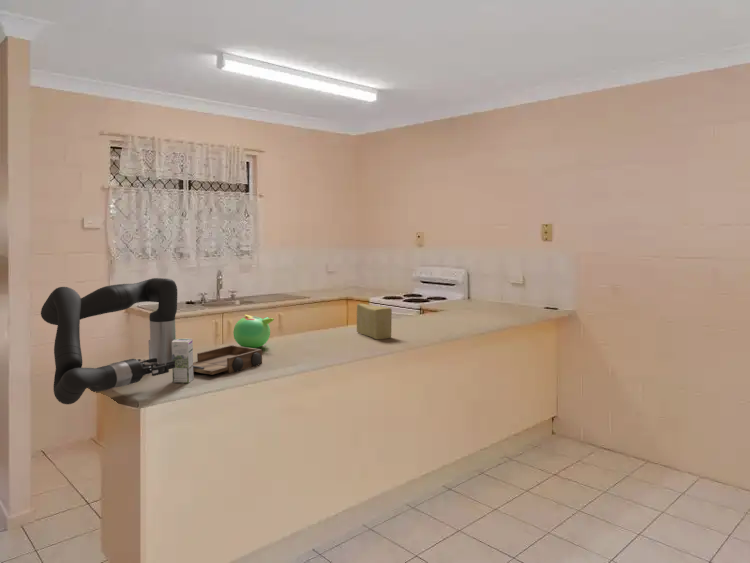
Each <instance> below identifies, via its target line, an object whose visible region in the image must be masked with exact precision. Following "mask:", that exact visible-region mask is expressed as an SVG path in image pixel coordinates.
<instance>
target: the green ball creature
mask: <svg viewBox="0 0 750 563" xmlns="http://www.w3.org/2000/svg"><path fill="white" fill-rule="evenodd" d="M244 316H245V317H241V319H239V320H238V321H237V322H236V323H235V325H234V327H233V331H232V333H233V334H232V335H233V338H234V340H235V342H236V343H237V344H238V346H241V347H248V348H255V349H259V348H260V347H263V346H264V345H265V344H267V342H268V341H269V338H270V337H271V336H270V335H271V328H270V323H272V322H273V321H274V320H275V319H274V318H272V317H271V318H270V317H269V316H267V317H264V318H262V317H259V316H255V315H249V314H244Z"/></svg>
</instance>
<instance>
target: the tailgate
mask: <svg viewBox="0 0 750 563" xmlns="http://www.w3.org/2000/svg"><path fill="white" fill-rule="evenodd" d="M226 370H228V367H227V366H221V365H215V364H209V363H203V362H198V361H193V373H195V372H196V373H200V374H205V375H210V376H211V375H212V376H213V375H216V374H219V373H224V372H223V371H226Z"/></svg>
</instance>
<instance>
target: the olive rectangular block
mask: <svg viewBox="0 0 750 563" xmlns="http://www.w3.org/2000/svg"><path fill="white" fill-rule="evenodd" d="M392 315H393V314H392V308H391V307H385V306H379V305H371V304H365V303H357V304H356V332H358V334H360V333H361V335H363V336H367V337H369V338H372V339H374V340H383V339H384V340H385V339H391V338H392Z"/></svg>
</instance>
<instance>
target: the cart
mask: <svg viewBox="0 0 750 563" xmlns="http://www.w3.org/2000/svg"><path fill="white" fill-rule="evenodd" d="M196 357H197V359H196V360H197V362H203V363H209V364H215V365H221V366H227V367H228V370H226V371H223V372H222V373H224V372H225V374H233V373H236V372H241V370H245V369H248V367H249V368H252V367H257V366H256V365H258V366H259V365H261V364H260V363H262V364H263V349H262V348H261V349H260V348H248V347H243V346H241V345H227V346H226V345H225V346H221V347H218V348H214V349H209V350H206V351H202V352H198V353H197V355H196ZM251 366H252V367H251Z"/></svg>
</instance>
